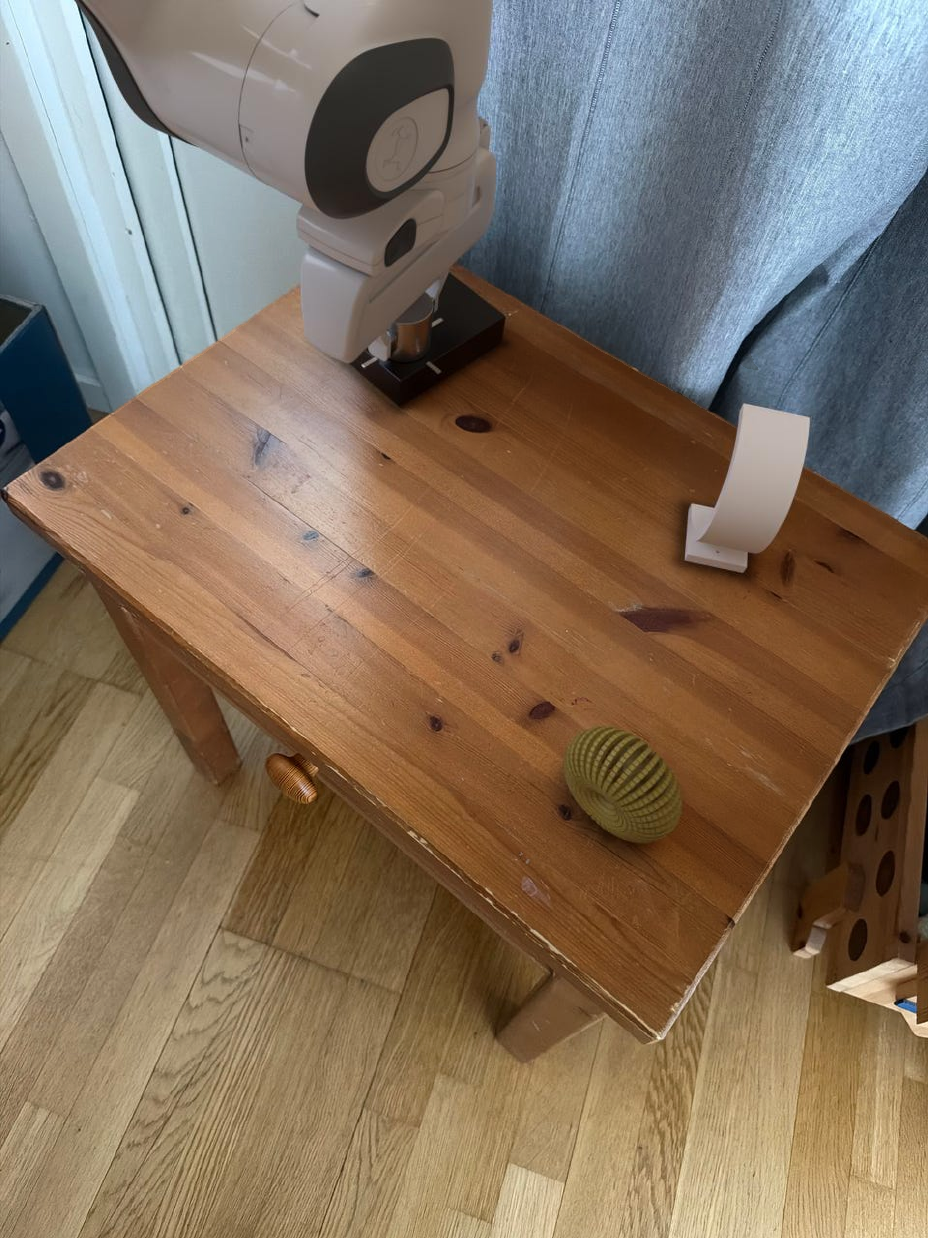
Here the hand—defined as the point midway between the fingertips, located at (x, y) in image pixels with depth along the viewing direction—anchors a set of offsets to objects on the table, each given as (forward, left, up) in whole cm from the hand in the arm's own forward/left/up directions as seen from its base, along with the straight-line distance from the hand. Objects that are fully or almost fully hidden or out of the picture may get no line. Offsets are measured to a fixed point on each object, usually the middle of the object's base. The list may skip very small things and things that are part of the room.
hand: (403, 332), depth 72 cm
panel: (+3, +2, -4) cm, 5 cm away
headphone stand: (+7, -29, -4) cm, 30 cm away
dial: (0, 0, -1) cm, 1 cm away
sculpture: (-15, -37, -4) cm, 40 cm away
